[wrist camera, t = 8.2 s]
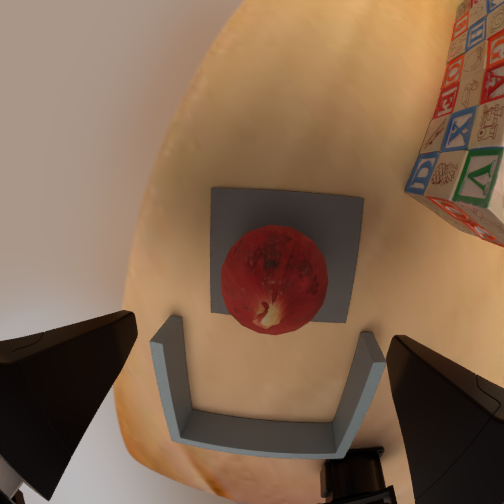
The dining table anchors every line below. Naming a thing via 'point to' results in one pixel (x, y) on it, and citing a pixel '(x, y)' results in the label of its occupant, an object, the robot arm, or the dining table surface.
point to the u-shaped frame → (262, 431)
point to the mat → (300, 218)
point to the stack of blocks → (468, 128)
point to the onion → (274, 280)
